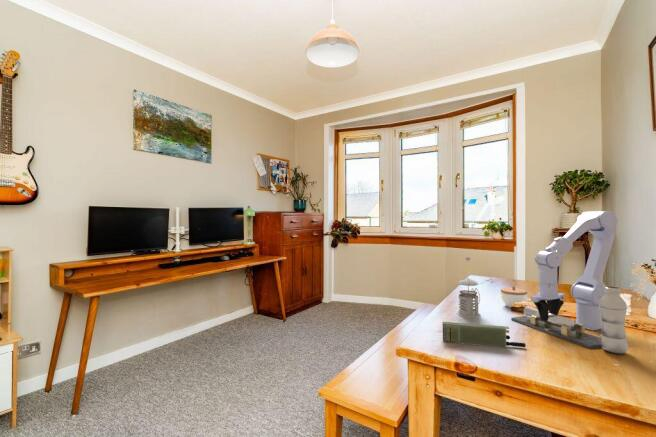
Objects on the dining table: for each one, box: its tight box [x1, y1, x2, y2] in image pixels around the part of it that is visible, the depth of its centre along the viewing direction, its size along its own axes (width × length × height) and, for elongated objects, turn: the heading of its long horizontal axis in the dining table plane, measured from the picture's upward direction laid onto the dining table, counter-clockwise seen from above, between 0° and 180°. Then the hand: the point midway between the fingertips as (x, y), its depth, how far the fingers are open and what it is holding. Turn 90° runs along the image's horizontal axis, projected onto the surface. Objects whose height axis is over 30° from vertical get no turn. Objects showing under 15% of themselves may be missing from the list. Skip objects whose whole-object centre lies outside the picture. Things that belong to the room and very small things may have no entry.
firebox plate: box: [511, 315, 602, 350], centre depth 117 cm, size 10×30×4 cm, turn 16°
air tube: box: [523, 305, 577, 331], centre depth 120 cm, size 18×4×4 cm, turn 16°
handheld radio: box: [442, 321, 527, 348], centre depth 106 cm, size 7×3×25 cm
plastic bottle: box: [599, 285, 629, 354], centre depth 99 cm, size 6×7×20 cm
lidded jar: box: [500, 286, 528, 309], centre depth 149 cm, size 11×11×9 cm
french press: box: [456, 256, 482, 319], centre depth 137 cm, size 10×12×25 cm
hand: (548, 319), depth 120 cm, fingers closed on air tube, 4 cm apart
